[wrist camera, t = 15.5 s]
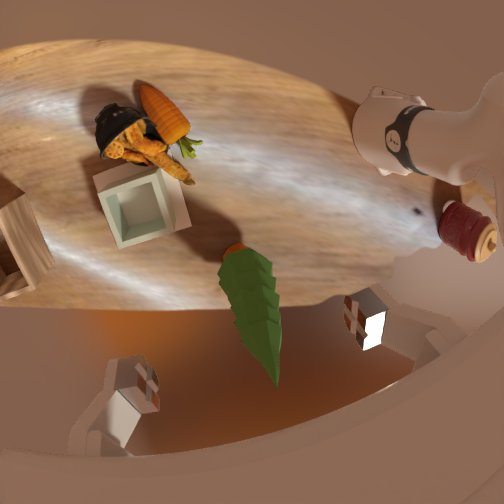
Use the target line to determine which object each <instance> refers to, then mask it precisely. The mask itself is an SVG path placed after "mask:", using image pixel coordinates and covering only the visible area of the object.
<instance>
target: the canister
mask: <svg viewBox="0 0 504 504" xmlns="http://www.w3.org/2000/svg"><path fill="white" fill-rule="evenodd" d="M439 236H440V238H441V240H442V241H443V242H444V243H445V244H446V245H448V246H451V247H452V248H453V249H455V250H456V251H458V252H459V253H460V254H461V255H463V256H467V258H468V260H469V261H476V262H477V263H481V262H483V261H484V260H486V259H487V258H488V257H489V256H490V255H491V253H493V252H495V251H496V247H497V246H496V241H497V228H496V225H495V224H494V223H492V221H491V219H490V218H489V217H487V216H483V215H482V214H481V213H480V212H478V211H475V210H473V209H471V208H470V207H468V206H466V205H465V204H463V203H461V202H453V203H452V204H450V205H449V206H448V207H447V208H446V210H445V211H444V213H443V215H442V218H441V221H440V225H439Z"/></svg>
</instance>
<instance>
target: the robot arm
mask: <svg viewBox="0 0 504 504" xmlns="http://www.w3.org/2000/svg"><path fill="white" fill-rule="evenodd" d="M381 92H382V94H381ZM352 134H353V140H354V143H355V146H356V148H357V150H358V152H359V153H360V155H361V156H362V157H363V158H364V159H365V160H366V161H368V162H369V163H371V164H373V165H374V166H375V168H376V169H377V171H378V172H379V173H380V174H381V175H384V176H386V175H388V174H391V173H393V172H394V173H398V174H401V175H407V174H409V173H411V172H413V173H416V174H421V175H426V176H428V175H430V176H433V177H435V178H438V179H440V180H442V181H445V182H447V183H450V184H452V185H457V186H458V185H464V184H467V183H469V182H471V181H472V180H474V179H475V178H476V176H477V175H478V173H479V172H480V170H481V168H482V167H483V168H485V169H487V170H488V171H489V172H490V173H491V174H492V176H493V180H494V188H495V200H496V217H497V221H498V226H499V231H500V235H501V239H502V243H503V246H504V72H502V73H500V74H497V75H495V76H494V77H492V78H491V79H490V80H489V81H488V82H487V84H486V85H485V86H484V89H483V90H482V93H481V96H480V99H479V101H478V102H477V104H476V105H475V106H474V107H473V108H472V109H470V110H468V111H465V112H445V111H436V110H434V109H432V108H430V107H427V106H426V104H425V102H424V101H423V100H422V99H421V97H419V96H412V95H406V94H403V93H399V92H396V91H393V90H389V89H385V88H381V87H376V86H374V87H373V88H372V89H371V91H370V93H369V96H368V98H367V99H366V100H365V101H364V102H363V103H362V104H361V105H360V106H359V108H358V109H357V111H356V113H355V116H354V119H353V124H352ZM344 304H345V305H346V309H345V310H344V320H345V324H346V326H347V328H348V330H349V331H350V332H351V333H353V334H356V341H357V342H358V344H359V345H360V347H361V348H362V350H366V349H368V348H371V347H373V346H375V345H377V344H380V343H381V344H382V345H384V346H386V347H388V348H390V349H392V350H394V351H396V352H398V353H400V354H402V355H404V356H406V357H408V358H410V359H412V360H414V361H416V363H415V365H414V368H413V370H412V373H411V374H409V375H408V376H406V377H404V378H402V379H401V380H399V381H397V382H395V383H393V384H391V385H389V386H388V387H386V388H384V389H382V390H380V391H378V392H376V393H374V394H372V395H370V396H368V397H366V398H363V399H361V400H359V401H357V402H355V403H353V404H350V405H348V406H346V407H343V408H341V409H338V410H336V411H334V412H331V413H329V414H326V415H324V416H321V417H318V418H316V419H313V420H310V421H307V422H304V423H302V424H299V425H296V426H293V427H290V428H286V429H283V430H280V431H277V432H274V433H270V434H267V435H263V436H259V437H256V438H252V439H248V440H243V441H239V442H235V443H231V444H226V445H221V446H216V447H211V448H205V449H199V450H192V451H186V452H178V453H169V454H160V455H147V456H133V455H132V454H131V453H129V452H128V451H126V450H125V449H124V447H125V445H126V443H127V441H128V439H129V437H130V435H131V434H132V432H133V430H134V428H135V426H136V424H137V422H138V420H139V418H140V416H141V414H144V413H150V412H156V411H159V397H158V396H157V394H156V392H157V391H158V389H159V382H158V377H157V374H156V372H155V370H154V369H153V367H151V366H149V365H147V361H148V360H147V359H146V358H145V356H144V355H136V356H130V357H124V358H120V359H114V360H110V361H109V362H108V364H107V369H106V375H105V381H104V387H103V392H100V393H99V394H98V395H97V396H96V398H95V399H94V400H93V402H92V403H91V404H90V405H89V407H88V408H87V409H86V411H85V412H84V413H83V414H82V416H81V417H80V418H79V419H78V421H77V422H76V423H75V425H74V426H73V427H72V429H71V431H70V438H69V445H68V453H67V455H61V454H52V453H45V452H38V451H31V450H26V449H21V448H16V447H8V448H6V449H5V450H4V451H3V452H2V453H1V454H0V504H504V307H503V308H501V309H500V310H499V311H498V312H497V313H496V314H495V315H493V316H492V317H491V318H490V319H489V320H487V321H486V322H485V323H484V324H483V325H481V326H480V327H479V328H478V329H476V330H475V331H474V332H472V333H471V334H470V335H469V336H468V335H467V334H466V333H465V332H464V331H463V330H462V329H461V328H460V327H459V326H458V325H457V324H456V323H455V322H454V321H453V320H452V319H451V318H450V317H446V316H443V315H440V314H436V313H433V312H429V311H426V310H423V309H420V308H416V307H413V306H410V305H406V304H401V305H400V304H399V303H398V302H397V301H396V300H395V299H394V298H393V297H392V296H391V295H390V294H389V293H388V292H387V291H386V290H385V289H384V288H383V287H382V286H381V285H380V284H379V283H375V284H372V285H370V286H368V287H365V288H363V289H360V290H358V291H355V292H352V293H350V294H347V295H345V297H344Z"/></svg>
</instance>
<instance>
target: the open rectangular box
mask: <svg viewBox="0 0 504 504" xmlns="http://www.w3.org/2000/svg"><path fill="white" fill-rule="evenodd" d="M167 156H168V157H169V158H170V159H172V160H173V158H172V154H171V150H170V149H169V150H168V152H167ZM92 177H93V180H94V183H95V186H96V189H97V191H98V197H99V199H100V202H101V205H102V208H103V210H104V213H105V216H106V218H107V221H108V223H109V226H110V228H111V231H112V233H113V236H114V238H115V240H116V243H117V245H118V247H119V249H121V248H125V247H128V246H131V245H134V244H137V243H140V242H144V241H147V240H150V239H153V238H157V237H160V236H163V235H167V234H170V233H173V232H175V231H178V230H181V229H185V228H188V227H192V223H191V220H190V217H189V214H188V210H187V207H186V203H185V200H184V197H183V193H182V190H181V186H180V183H179V180H178V179H175V178H174V177H173V176H171V175H169V174H168V173H167V172H165V171H164V170H163V169H161V168H160V167H158V166H156V165H154V167H151V166H148V167H145V166H138V165H135V164H133V163H131V162H127V163H125V164H122V165H119V166H116V167H114V168H111V169H109V170H106V171H103V172H101V173H98V174H96V175H94V176H92Z"/></svg>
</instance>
